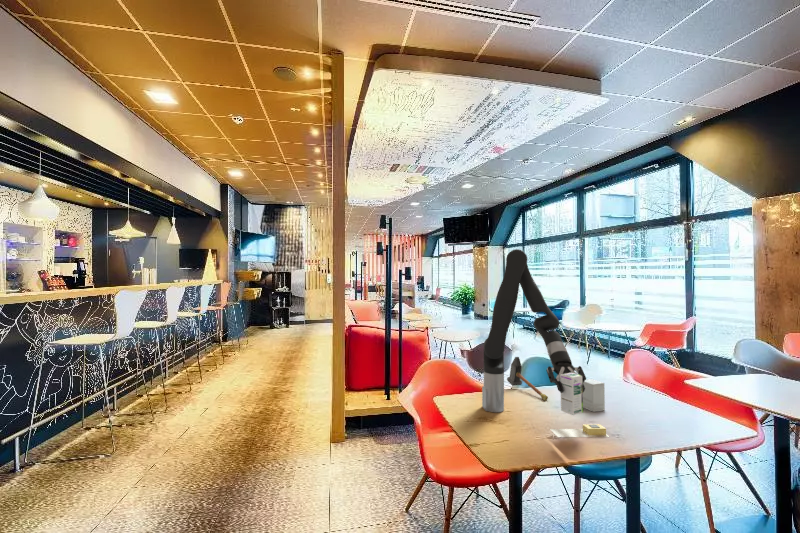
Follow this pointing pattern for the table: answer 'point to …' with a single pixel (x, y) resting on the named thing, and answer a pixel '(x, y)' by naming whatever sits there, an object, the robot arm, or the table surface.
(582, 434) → the board
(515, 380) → the hammer
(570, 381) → the syrup box
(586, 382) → the supplement box
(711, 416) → the table surface
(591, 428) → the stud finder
